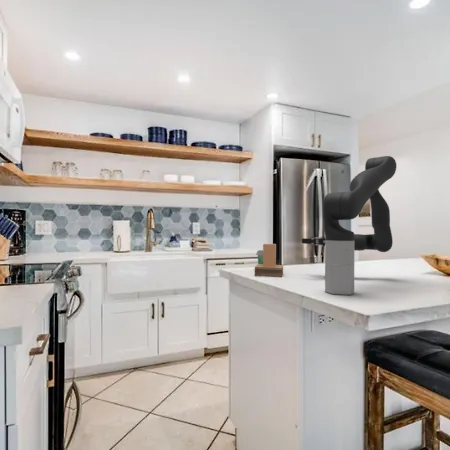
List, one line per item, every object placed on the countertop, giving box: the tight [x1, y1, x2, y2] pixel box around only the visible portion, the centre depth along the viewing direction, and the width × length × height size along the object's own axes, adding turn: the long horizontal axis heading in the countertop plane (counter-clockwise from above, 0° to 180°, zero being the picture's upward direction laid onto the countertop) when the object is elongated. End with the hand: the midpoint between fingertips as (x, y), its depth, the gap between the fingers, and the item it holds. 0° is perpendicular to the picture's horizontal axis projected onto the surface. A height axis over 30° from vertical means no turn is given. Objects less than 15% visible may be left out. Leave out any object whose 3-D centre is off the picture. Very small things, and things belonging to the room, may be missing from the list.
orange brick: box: [262, 243, 277, 267], centre depth 152 cm, size 6×6×10 cm
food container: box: [256, 249, 263, 265], centre depth 165 cm, size 12×6×10 cm, turn 25°
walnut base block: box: [254, 263, 284, 278], centre depth 152 cm, size 12×12×4 cm
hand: (302, 240), depth 146 cm, fingers open, 8 cm apart
